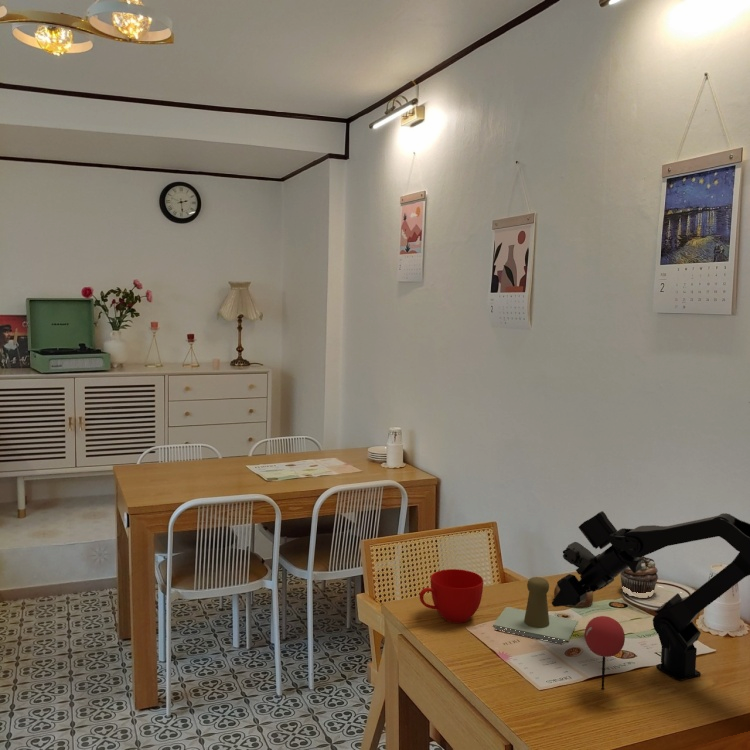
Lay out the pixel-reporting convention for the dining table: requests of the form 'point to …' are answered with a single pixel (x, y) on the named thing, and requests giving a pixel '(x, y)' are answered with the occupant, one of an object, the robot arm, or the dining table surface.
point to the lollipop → (604, 638)
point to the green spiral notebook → (556, 628)
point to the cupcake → (641, 577)
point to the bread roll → (584, 603)
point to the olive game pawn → (537, 603)
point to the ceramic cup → (455, 594)
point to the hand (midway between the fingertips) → (562, 599)
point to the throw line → (530, 635)
